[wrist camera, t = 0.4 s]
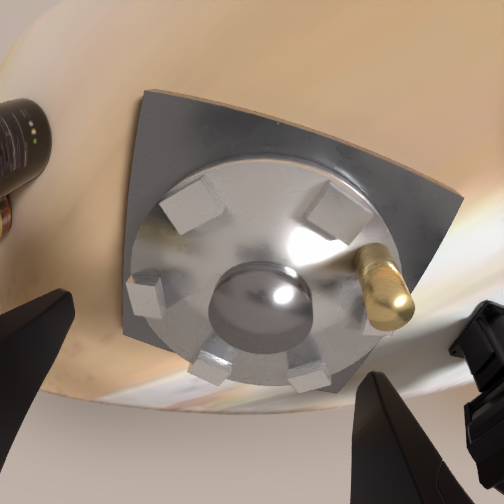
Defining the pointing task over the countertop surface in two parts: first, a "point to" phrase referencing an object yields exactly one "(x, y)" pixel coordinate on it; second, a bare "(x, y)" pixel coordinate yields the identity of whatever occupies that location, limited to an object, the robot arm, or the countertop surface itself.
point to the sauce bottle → (4, 216)
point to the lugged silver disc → (267, 272)
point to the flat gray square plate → (285, 143)
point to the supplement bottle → (22, 143)
